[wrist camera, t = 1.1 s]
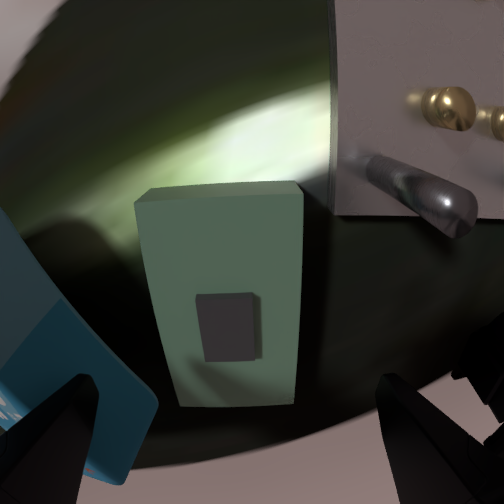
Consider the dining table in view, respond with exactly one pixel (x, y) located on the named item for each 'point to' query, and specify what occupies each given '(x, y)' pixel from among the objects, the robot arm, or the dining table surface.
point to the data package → (64, 361)
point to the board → (226, 288)
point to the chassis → (417, 110)
